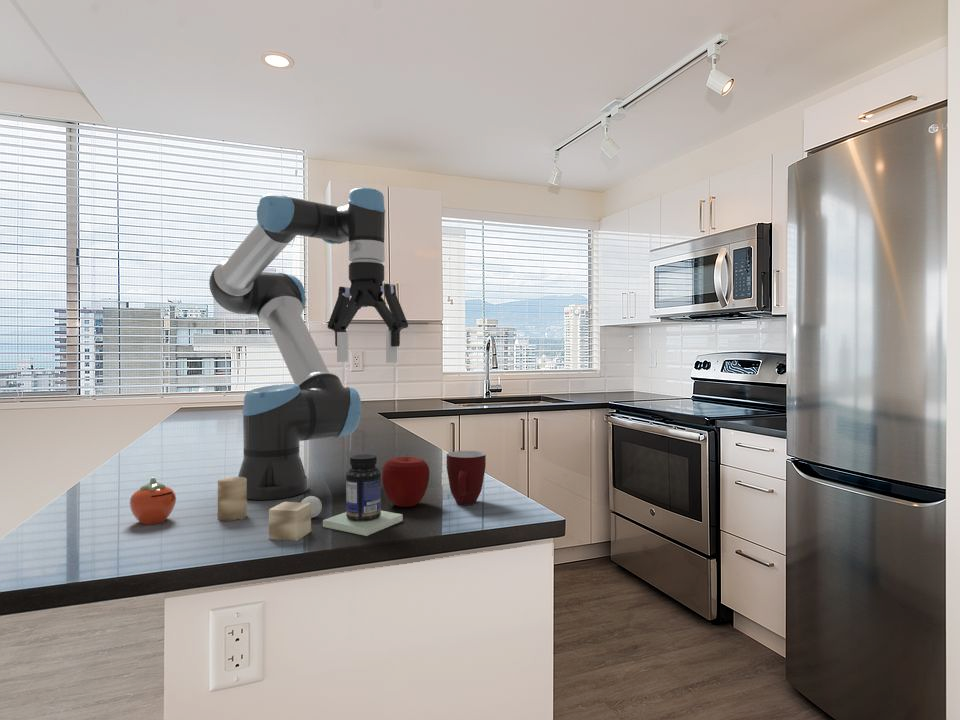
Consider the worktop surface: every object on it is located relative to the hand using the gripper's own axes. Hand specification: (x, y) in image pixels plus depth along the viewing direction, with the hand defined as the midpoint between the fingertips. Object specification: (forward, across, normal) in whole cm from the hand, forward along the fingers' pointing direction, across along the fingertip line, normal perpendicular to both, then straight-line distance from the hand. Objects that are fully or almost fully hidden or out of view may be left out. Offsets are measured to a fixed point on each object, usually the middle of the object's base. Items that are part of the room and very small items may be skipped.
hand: (366, 362), depth 124 cm
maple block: (+29, +6, -27) cm, 40 cm away
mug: (+29, +22, +5) cm, 37 cm away
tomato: (+29, -21, -34) cm, 49 cm away
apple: (+29, +12, -2) cm, 31 cm away
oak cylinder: (+29, -11, -25) cm, 40 cm away
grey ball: (+29, +2, -18) cm, 34 cm away
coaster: (+29, +13, -16) cm, 35 cm away
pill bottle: (+28, +13, -16) cm, 35 cm away
